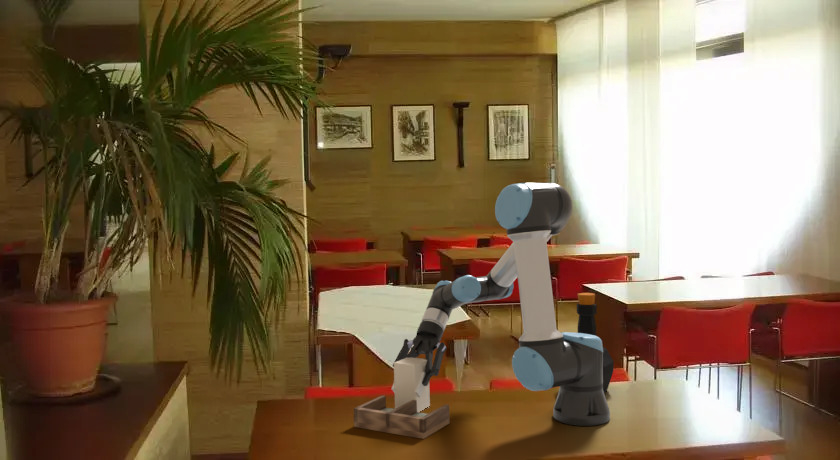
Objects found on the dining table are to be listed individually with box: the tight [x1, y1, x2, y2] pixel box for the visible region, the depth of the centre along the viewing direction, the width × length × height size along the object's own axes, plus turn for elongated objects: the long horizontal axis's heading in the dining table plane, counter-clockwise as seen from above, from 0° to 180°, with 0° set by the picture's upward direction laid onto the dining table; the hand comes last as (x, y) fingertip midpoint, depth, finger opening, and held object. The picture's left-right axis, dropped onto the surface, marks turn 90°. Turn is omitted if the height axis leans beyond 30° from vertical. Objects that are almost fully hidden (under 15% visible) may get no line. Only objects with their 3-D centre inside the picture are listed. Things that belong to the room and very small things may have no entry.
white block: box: [393, 357, 431, 413], centre depth 216 cm, size 7×8×14 cm
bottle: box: [576, 292, 615, 393], centre depth 231 cm, size 16×16×30 cm
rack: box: [353, 395, 451, 440], centre depth 201 cm, size 22×14×5 cm, turn 60°
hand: (405, 392), depth 213 cm, fingers closed on white block, 7 cm apart
